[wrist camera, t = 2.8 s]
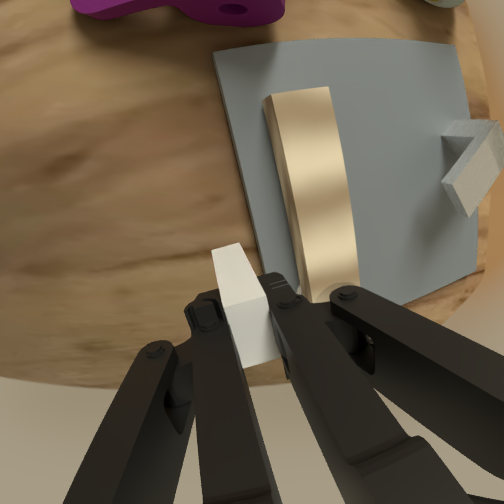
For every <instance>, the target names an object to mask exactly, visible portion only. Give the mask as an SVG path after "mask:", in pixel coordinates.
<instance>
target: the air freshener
mask: <svg viewBox="0 0 504 504" xmlns="http://www.w3.org/2000/svg"><path fill="white" fill-rule="evenodd" d="M424 1H426V2H428V3H430V4H433V5H435V6H438V7H443V8H453V7H457V6H459V5H460V4H462V3H463V2H464V1H465V0H424Z"/></svg>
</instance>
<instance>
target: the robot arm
mask: <svg viewBox="0 0 504 504" xmlns="http://www.w3.org/2000/svg"><path fill="white" fill-rule="evenodd" d="M211 251H212V256H213V261H214V266H215V271H216V276H217V281H218V286H219V288H218V289H215V290H211V291H207V292H204V293H200V294H198V296H197V297H196V298H195V300H194V301H193V302H191V303H189V304H188V305H187V306H186V307H185V309H184V313H185V316H186V318H187V321H188V324H189V326H190V329H191V338H190V339H188V340H187V341H186V342H184V343H182V344H180V345H178V346H175V347H174V346H173V345H172V343H171V342H169V341H166V340H160V341H154V342H151V343H149V344H147V345H146V346H145V347H143V348H142V349H141V350H140V351H139V353H138V354H137V356H136V358H135V360H134V362H133V364H132V365H131V367H130V369H129V371H128V373H127V375H126V377H125V378H124V380H123V382H122V384H121V386H120V388H119V390H118V392H117V394H116V395H115V398H114V399H113V401H112V403H111V405H110V407H109V409H108V411H107V413H106V415H105V417H104V419H103V421H102V423H101V425H100V427H99V428H98V430H97V432H96V434H95V436H94V438H93V441H92V443H91V445H90V447H89V449H88V451H87V453H86V455H85V457H84V459H83V461H82V463H81V465H80V468H79V470H78V471H77V474H76V476H75V478H74V480H73V482H72V485H71V486H70V488H69V491H68V493H67V495H66V497H65V499H64V502H63V504H173V501H174V498H175V493H176V489H177V485H178V481H179V477H180V473H181V469H182V465H183V461H184V457H185V453H186V449H187V445H188V440H189V437H190V433H191V428H192V425H193V421H194V417H195V418H196V431H197V444H198V456H199V466H200V476H201V486H202V495H203V504H282V501H281V498H280V494H279V491H278V488H277V485H276V482H275V478H274V475H273V472H272V468H271V465H270V461H269V458H268V455H267V451H266V448H265V445H264V441H263V437H262V434H261V431H260V427H259V423H258V420H257V416H256V413H255V409H254V406H253V402H252V398H251V395H250V391H249V387H248V384H247V380H246V376H245V373H244V370H243V368H246V367H250V366H253V365H257V364H260V363H264V362H267V361H270V360H274V359H277V358H280V357H281V356H282V361H283V365H284V369H285V374H286V378H287V380H288V379H290V381H291V383H292V385H293V388H294V390H295V392H296V395H297V397H298V399H299V402H300V404H301V406H302V408H303V411H304V413H305V415H306V417H307V420H308V422H309V424H310V426H311V429H312V431H313V433H314V435H315V438H316V440H317V442H318V444H319V447H320V449H321V451H322V453H323V456H324V458H325V460H326V462H327V464H328V467H329V469H330V471H331V473H332V475H333V478H334V480H335V482H336V484H337V487H338V488H339V491H340V493H341V495H342V497H343V499H344V502H345V504H504V501H500V500H495V499H490V498H484V497H480V496H475V495H470V494H467V493H466V492H465V491H464V489H463V488H462V487H461V485H460V484H459V483H458V481H457V480H456V479H455V477H454V476H453V475H452V473H451V472H450V471H449V469H448V468H447V466H446V465H445V464H444V462H443V461H442V460H441V458H440V457H439V456H438V455H437V453H436V452H435V451H434V449H433V448H432V447H431V445H430V444H429V443H428V442H427V441H426V440H425V439H424V438H422V437H421V436H414V437H410V436H408V434H407V433H406V432H405V431H404V429H403V428H402V427H401V425H400V424H399V423H398V421H397V420H396V418H395V417H394V416H393V414H392V413H391V412H390V410H389V409H388V408H387V406H386V405H385V403H384V402H383V401H382V399H381V398H380V397H379V395H378V394H377V392H376V391H375V390H374V388H375V389H376V390H377V391H379V392H380V393H381V394H382V395H384V396H385V397H386V398H388V399H389V400H390V401H391V402H393V403H394V404H395V405H397V406H398V407H400V408H401V409H402V410H403V411H405V412H406V413H407V414H409V415H410V416H411V417H413V418H414V419H415V420H417V421H418V422H419V423H421V424H422V425H423V426H425V427H426V428H427V429H429V430H430V431H432V432H433V433H434V434H436V435H437V436H438V437H440V438H441V439H442V440H444V441H445V442H446V443H448V444H449V445H451V446H452V447H453V448H455V449H456V450H458V451H459V452H460V453H462V454H463V455H464V456H466V457H467V458H469V459H470V460H471V461H473V462H474V463H476V464H477V465H478V466H480V467H481V468H483V469H484V470H486V471H488V472H489V473H491V474H493V475H494V476H496V477H498V478H501V479H503V480H504V356H502V355H500V354H498V353H497V352H494V351H493V350H490V349H488V348H486V347H484V346H482V345H480V344H478V343H476V342H474V341H472V340H470V339H468V338H466V337H464V336H462V335H460V334H458V333H456V332H454V331H452V330H450V329H448V328H445V327H444V326H442V325H440V324H438V323H435V322H433V321H431V320H429V319H427V318H425V317H423V316H421V315H419V314H417V313H415V312H413V311H411V310H409V309H406V308H404V307H402V306H400V305H398V304H396V303H394V302H392V301H390V300H388V299H386V298H383V297H381V296H379V295H377V294H375V293H373V292H371V291H369V290H367V289H365V288H362V287H359V286H353V285H346V286H342V287H340V288H337V289H335V290H334V291H332V292H331V294H330V295H329V299H330V301H328V302H321V303H310V302H309V301H308V300H307V298H306V297H304V296H303V295H299V294H296V293H295V291H294V290H293V289H292V287H291V286H290V284H289V283H288V282H287V280H286V279H285V278H284V276H283V275H282V274H280V273H277V272H271V273H268V274H264V275H261V276H257V277H256V275H255V273H254V271H253V269H252V267H251V265H250V263H249V261H248V259H247V257H246V255H245V253H244V251H243V249H242V247H241V245H240V244H239V243H236V244H232V245H229V246H225V247H221V248H218V249H214V250H211ZM369 337H370V338H371V339H370V338H369ZM279 351H280V352H279ZM280 353H281V356H280Z"/></svg>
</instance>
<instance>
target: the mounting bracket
mask: <svg viewBox="0 0 504 504" xmlns="http://www.w3.org/2000/svg"><path fill="white" fill-rule="evenodd" d="M70 3H71V5H72V7H73V8H74V9H75V10H76V11H78V12H80V13H83V14H85V15H87V16H90V17H92V18H95V19H98V20H109V19H113V18H117V17H121V16H124V15H128V14H131V13H135V12H139V11H143V10H147V9H151V8H156V7H160V6H166V5H171V6H175V7H177V8H179V9H180V10H181V11H182V12H184V13H185V14H186V15H187V16H189V17H191V18H192V19H195V20H197V21H200V22H203V23H207V24H211V25H225V26H236V27H254V26H261V25H266V24H270V23H273V22H275V21H277V20H279V19H280V18H281V17H282V16H283V15H284V12H285V0H70Z"/></svg>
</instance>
